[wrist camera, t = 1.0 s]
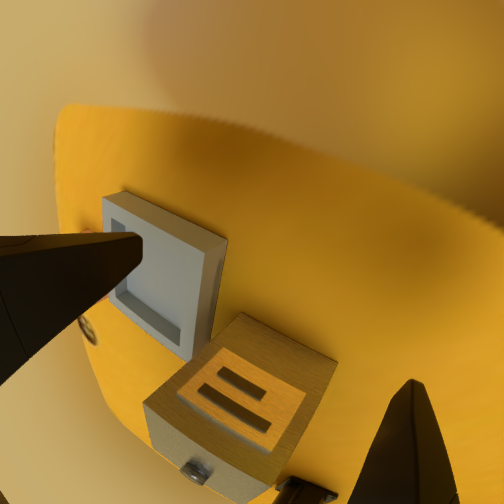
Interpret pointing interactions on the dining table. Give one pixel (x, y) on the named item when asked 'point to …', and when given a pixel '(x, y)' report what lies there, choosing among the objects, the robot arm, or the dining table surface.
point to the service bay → (167, 274)
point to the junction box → (238, 408)
